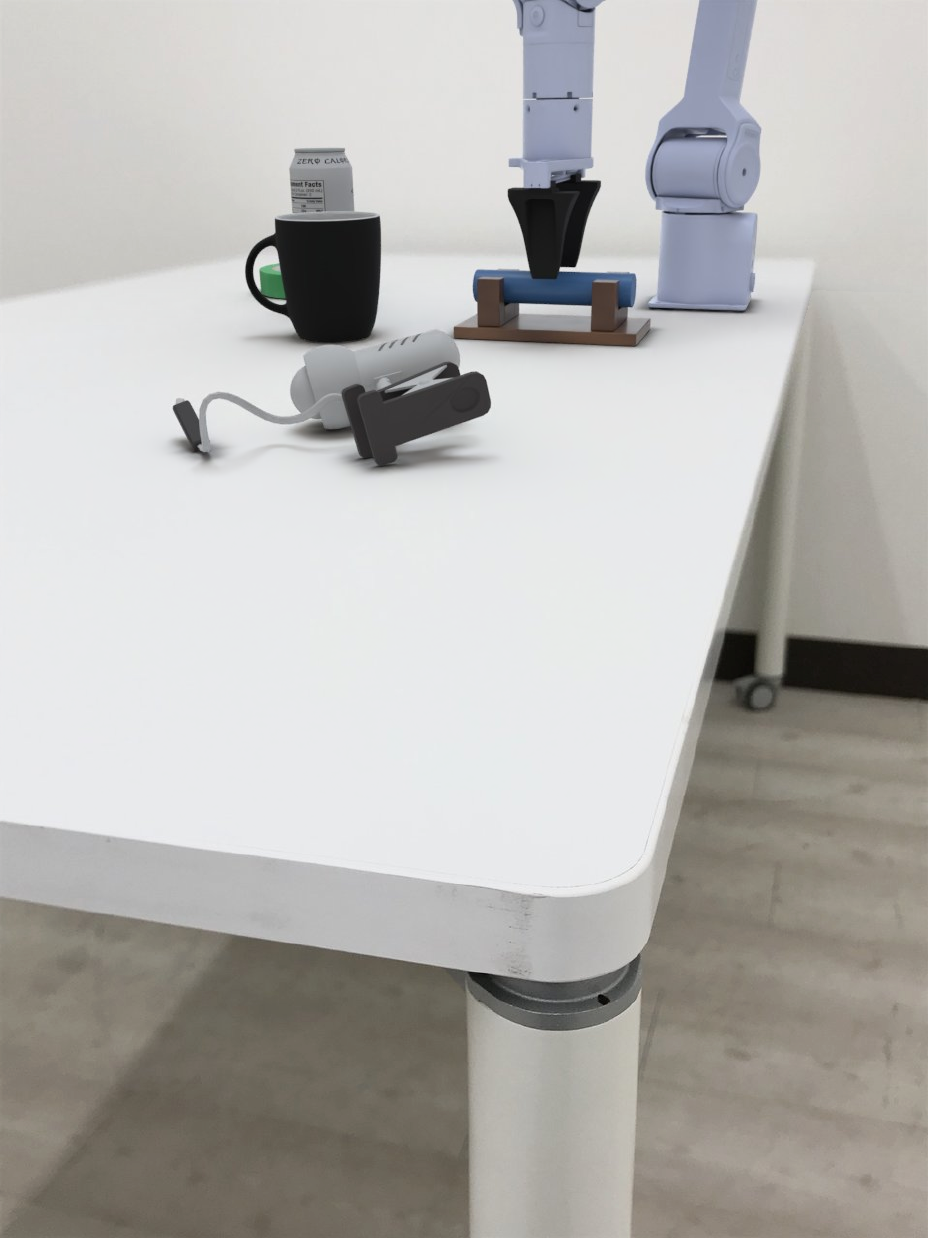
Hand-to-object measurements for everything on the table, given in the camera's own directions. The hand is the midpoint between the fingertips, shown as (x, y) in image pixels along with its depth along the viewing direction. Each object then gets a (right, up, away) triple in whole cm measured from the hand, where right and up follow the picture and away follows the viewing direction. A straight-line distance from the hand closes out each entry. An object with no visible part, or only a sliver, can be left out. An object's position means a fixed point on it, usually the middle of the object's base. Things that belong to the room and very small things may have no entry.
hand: (554, 272), depth 96 cm
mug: (-21, -5, +3) cm, 22 cm away
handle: (0, -2, +1) cm, 3 cm away
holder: (0, -5, +2) cm, 5 cm away
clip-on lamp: (-16, -20, -29) cm, 39 cm away
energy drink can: (-21, +1, +16) cm, 27 cm away
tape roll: (-25, +6, +28) cm, 38 cm away
